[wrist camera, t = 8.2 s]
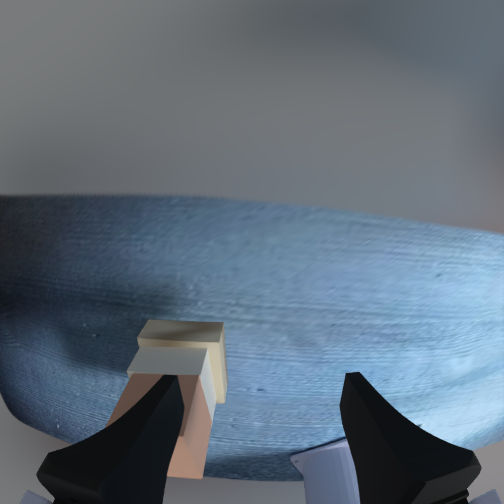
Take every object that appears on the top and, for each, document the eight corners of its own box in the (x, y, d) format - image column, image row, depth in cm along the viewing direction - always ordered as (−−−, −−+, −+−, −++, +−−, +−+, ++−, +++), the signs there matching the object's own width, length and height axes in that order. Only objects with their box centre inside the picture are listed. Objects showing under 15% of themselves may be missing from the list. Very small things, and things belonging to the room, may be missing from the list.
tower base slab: (224, 320, 23) (219, 342, 20) (228, 379, 25) (224, 403, 22) (149, 317, 23) (136, 337, 21) (161, 375, 25) (152, 397, 22)
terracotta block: (199, 374, 18) (183, 436, 13) (211, 421, 19) (202, 479, 14) (132, 373, 18) (104, 427, 13) (152, 418, 19) (133, 471, 14)
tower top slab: (207, 347, 20) (200, 375, 18) (216, 398, 22) (211, 426, 19) (140, 345, 21) (126, 370, 18) (155, 395, 22) (145, 421, 19)
